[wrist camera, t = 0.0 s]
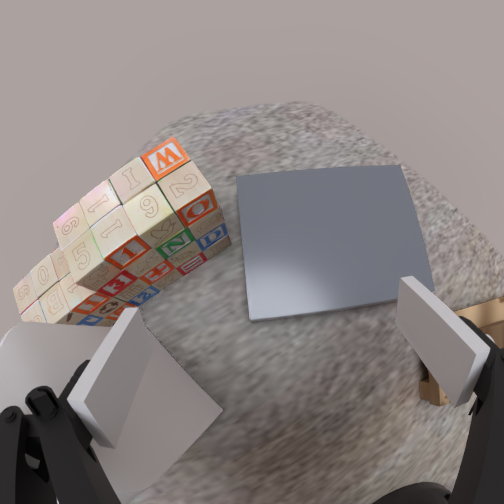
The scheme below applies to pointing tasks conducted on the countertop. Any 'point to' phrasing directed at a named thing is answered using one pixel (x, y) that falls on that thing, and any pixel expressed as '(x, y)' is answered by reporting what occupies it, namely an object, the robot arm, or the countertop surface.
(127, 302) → the stack of blocks
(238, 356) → the countertop surface
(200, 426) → the milk
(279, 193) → the dock
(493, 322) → the carrier tray
